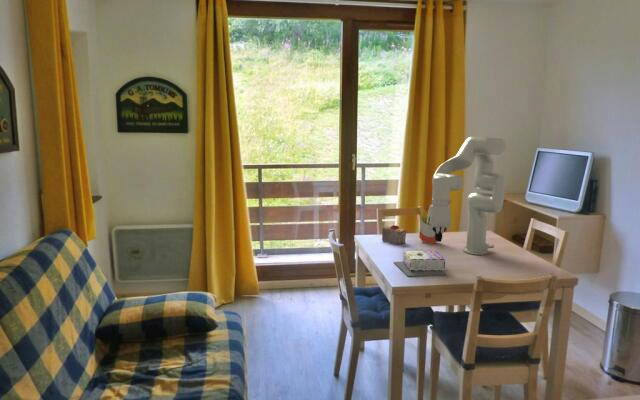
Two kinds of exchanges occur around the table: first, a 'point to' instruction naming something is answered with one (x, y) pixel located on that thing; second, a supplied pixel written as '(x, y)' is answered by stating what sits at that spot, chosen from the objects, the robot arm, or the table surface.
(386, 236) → the food item
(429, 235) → the french fries container
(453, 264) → the table surface
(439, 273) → the mat
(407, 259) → the candy box
